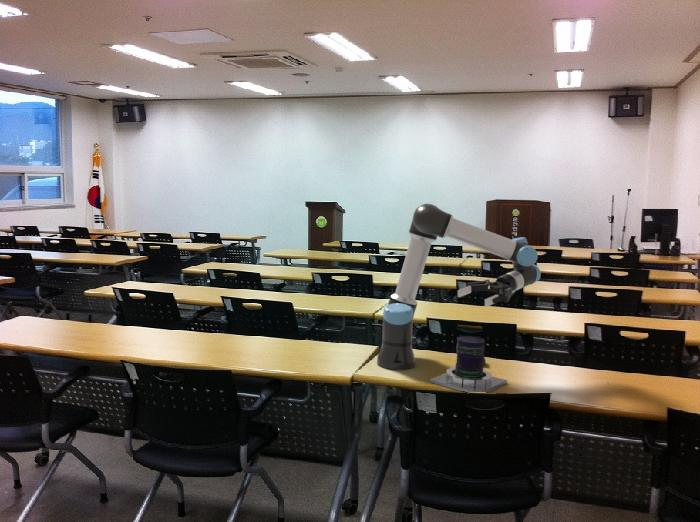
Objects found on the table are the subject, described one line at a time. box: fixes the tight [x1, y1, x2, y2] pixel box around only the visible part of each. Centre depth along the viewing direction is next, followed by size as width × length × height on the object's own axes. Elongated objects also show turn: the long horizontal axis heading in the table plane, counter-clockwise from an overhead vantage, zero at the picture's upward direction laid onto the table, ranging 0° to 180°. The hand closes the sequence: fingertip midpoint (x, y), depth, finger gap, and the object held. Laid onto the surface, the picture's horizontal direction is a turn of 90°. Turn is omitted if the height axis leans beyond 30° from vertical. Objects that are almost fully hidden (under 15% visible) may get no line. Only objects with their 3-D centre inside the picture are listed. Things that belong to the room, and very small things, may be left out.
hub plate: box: [429, 366, 508, 393], centre depth 206 cm, size 20×20×4 cm
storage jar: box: [454, 335, 485, 379], centre depth 205 cm, size 10×10×15 cm
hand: (471, 298), depth 213 cm, fingers open, 13 cm apart
